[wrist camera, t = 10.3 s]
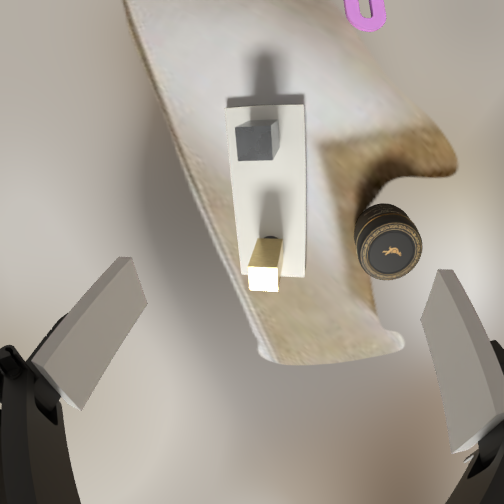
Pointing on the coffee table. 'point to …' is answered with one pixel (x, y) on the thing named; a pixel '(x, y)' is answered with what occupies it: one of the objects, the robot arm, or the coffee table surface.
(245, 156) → the fixed leg
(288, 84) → the coffee table surface
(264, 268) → the block
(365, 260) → the jar
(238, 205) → the board
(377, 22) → the bracket
